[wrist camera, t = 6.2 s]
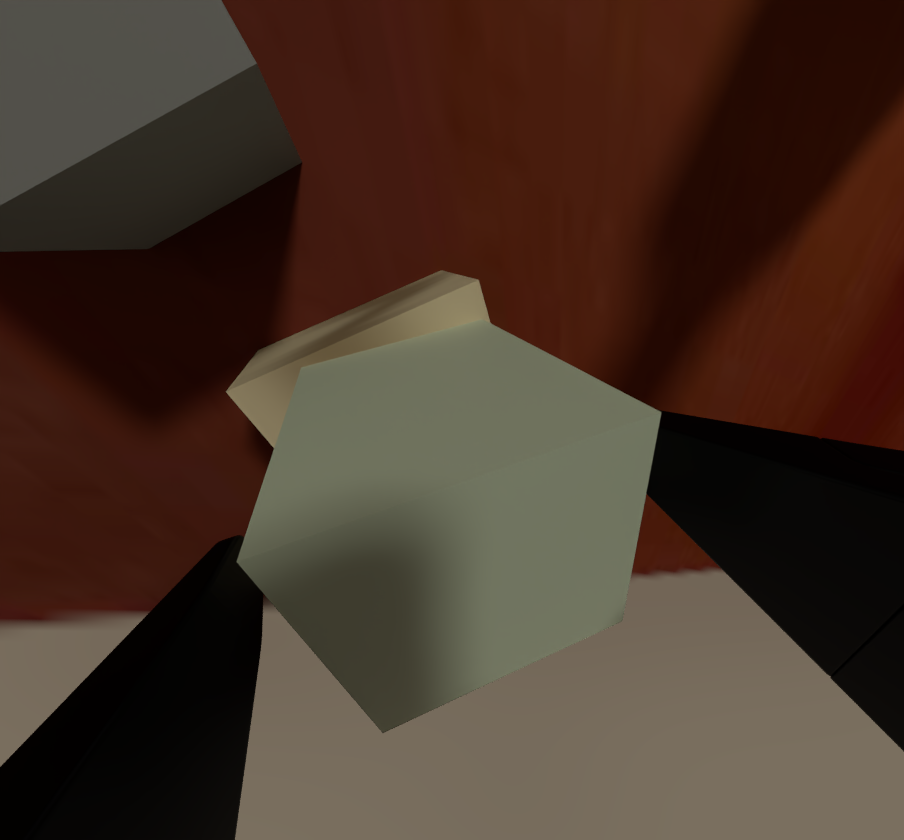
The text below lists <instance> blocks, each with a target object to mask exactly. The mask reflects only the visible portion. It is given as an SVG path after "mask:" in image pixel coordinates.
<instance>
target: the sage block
mask: <svg viewBox="0 0 904 840" xmlns="http://www.w3.org/2000/svg"><path fill="white" fill-rule="evenodd" d="M660 417H661V412H660V411H658V410H656V409H654V408H652V407H650V406H648V405H646V404H644V403H643V402H641V401H639V400H637V399H635V398H633V397H631V396H629V395H627V394H625V393H623V392H621V391H619V390H617V389H616V388H614V387H612V386H610V385H608V384H606V383H604V382H602V381H600V380H598V379H596V378H594V377H592V376H591V375H589V374H587V373H585V372H583V371H581V370H579V369H577V368H575V367H573V366H571V365H569V364H567V363H566V362H564V361H562V360H560V359H558V358H556V357H554V356H552V355H550V354H548V353H546V352H544V351H542V350H541V349H539V348H537V347H535V346H533V345H531V344H529V343H527V342H525V341H523V340H521V339H519V338H517V337H516V336H514V335H512V334H510V333H508V332H506V331H504V330H502V329H500V328H498V327H496V326H494V325H492V324H491V323H489V322H487V321H485V320H483V319H481V320H477V321H474V322H470V323H466V324H462V325H459V326H455V327H451V328H447V329H444V330H440V331H436V332H432V333H429V334H425V335H421V336H417V337H414V338H410V339H406V340H402V341H399V342H395V343H391V344H387V345H384V346H380V347H376V348H372V349H369V350H365V351H361V352H357V353H354V354H350V355H346V356H342V357H339V358H335V359H331V360H327V361H324V362H320V363H316V364H312V365H309V366H305V367H301V370H300V373H299V376H298V379H297V382H296V385H295V388H294V391H293V394H292V397H291V400H290V403H289V406H288V409H287V412H286V415H285V418H284V421H283V424H282V427H281V430H280V433H279V436H278V439H277V442H276V445H275V448H274V451H273V454H272V457H271V460H270V463H269V466H268V469H267V472H266V475H265V478H264V481H263V484H262V487H261V490H260V493H259V496H258V499H257V502H256V505H255V508H254V511H253V514H252V517H251V520H250V523H249V526H248V529H247V532H246V535H245V538H244V541H243V544H242V547H241V550H240V553H239V556H238V559H237V563H238V564H239V565H240V566H241V568H242V569H243V570H244V571H245V572H246V574H247V575H248V576H249V577H250V578H251V579H252V581H253V582H254V583H255V584H256V585H257V586H258V588H259V589H260V590H261V591H262V592H263V593H264V595H265V596H266V597H267V598H268V599H269V600H270V602H271V603H272V604H273V605H274V606H275V607H276V609H277V610H278V611H279V612H280V613H281V614H282V616H283V617H284V618H285V619H286V620H287V621H288V623H289V624H290V625H291V626H292V627H293V629H294V630H295V631H296V632H297V633H298V634H299V635H300V637H301V638H302V639H303V640H304V641H305V643H306V644H307V645H308V646H309V647H310V648H311V649H312V651H313V652H314V653H315V654H316V655H317V656H318V658H319V659H320V660H321V661H322V662H323V664H324V665H325V666H326V667H327V668H328V669H329V671H330V672H331V673H332V674H333V675H334V676H335V678H336V679H337V680H338V681H339V682H340V684H341V685H342V686H343V687H344V688H345V689H346V691H347V692H348V693H349V694H350V695H351V696H352V698H353V699H354V700H355V701H356V702H357V703H358V705H359V706H360V707H361V708H362V709H363V710H364V712H365V713H366V714H367V715H368V716H369V717H370V719H371V720H372V721H373V722H374V723H375V724H376V726H377V727H378V728H379V729H380V730H381V731H382V733H384V732H386V731H388V730H390V729H393V728H395V727H397V726H399V725H401V724H403V723H405V722H408V721H410V720H412V719H414V718H416V717H418V716H420V715H423V714H425V713H427V712H429V711H431V710H433V709H435V708H438V707H440V706H442V705H444V704H446V703H448V702H450V701H453V700H455V699H457V698H459V697H461V696H463V695H465V694H468V693H469V692H472V691H474V690H476V689H478V688H480V687H482V686H485V685H487V684H489V683H491V682H493V681H495V680H497V679H500V678H502V677H504V676H506V675H508V674H510V673H512V672H514V671H517V670H519V669H521V668H523V667H525V666H527V665H529V664H531V663H534V662H536V661H538V660H540V659H542V658H544V657H547V656H549V655H551V654H553V653H555V652H557V651H560V650H562V649H564V648H566V647H568V646H570V645H572V644H575V643H577V642H579V641H581V640H583V639H585V638H587V637H590V636H592V635H594V634H596V633H598V632H600V631H602V630H605V629H607V628H609V627H611V626H613V625H615V624H617V623H619V622H621V621H622V620H623V615H624V609H625V604H626V599H627V593H628V588H629V583H630V577H631V572H632V567H633V561H634V556H635V551H636V545H637V540H638V535H639V529H640V524H641V519H642V513H643V508H644V503H645V497H646V492H647V487H648V481H649V476H650V471H651V465H652V460H653V455H654V449H655V444H656V439H657V433H658V428H659V423H660Z"/></svg>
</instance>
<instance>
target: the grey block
mask: <svg viewBox="0 0 904 840" xmlns="http://www.w3.org/2000/svg"><path fill="white" fill-rule="evenodd" d="M300 163H302V161H301V159H300V157H299V155H298V152H297V150H296V148H295V146H294V144H293V142H292V139H291V137H290V135H289V133H288V131H287V129H286V126H285V124H284V122H283V120H282V118H281V116H280V113H279V111H278V109H277V107H276V105H275V102H274V100H273V98H272V96H271V94H270V92H269V89H268V87H267V85H266V83H265V81H264V79H263V76H262V74H261V72H260V70H259V68H258V66H257V63H256V62H255V60H254V58H253V56H252V54H251V53H250V51H249V49H248V47H247V46H246V44H245V42H244V40H243V38H242V37H241V35H240V33H239V31H238V30H237V28H236V26H235V24H234V22H233V21H232V19H231V17H230V15H229V13H228V12H227V10H226V8H225V6H224V5H223V3H222V1H221V0H0V252H9V251H64V250H120V249H149V248H151V247H153V246H155V245H156V244H158V243H160V242H162V241H164V240H165V239H167V238H169V237H171V236H172V235H174V234H176V233H178V232H179V231H181V230H183V229H185V228H187V227H188V226H190V225H192V224H194V223H195V222H197V221H199V220H201V219H203V218H204V217H206V216H208V215H210V214H211V213H213V212H215V211H217V210H218V209H220V208H222V207H224V206H226V205H227V204H229V203H231V202H233V201H234V200H236V199H238V198H240V197H241V196H243V195H245V194H247V193H249V192H250V191H252V190H254V189H256V188H257V187H259V186H261V185H263V184H265V183H266V182H268V181H270V180H272V179H273V178H275V177H277V176H279V175H280V174H282V173H284V172H286V171H288V170H289V169H291V168H293V167H295V166H296V165H298V164H300Z"/></svg>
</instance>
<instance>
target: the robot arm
mask: <svg viewBox="0 0 904 840" xmlns="http://www.w3.org/2000/svg"><path fill="white" fill-rule="evenodd" d="M658 411H660V410H658ZM660 412H661V417H660V423H659V428H658V433H657V439H656V444H655V449H654V455H653V460H652V465H651V471H650V476H649V481H648V487H647V492H646V493H647V495H648V496H649V497H650V498H651V499H652V500H653V501H654V502H655V503H656V504H657V505H658V506H659V507H660V508H661V509H662V510H663V511H664V512H665V513H666V514H667V515H668V516H669V517H670V518H671V519H672V520H673V521H674V522H675V523H676V524H677V525H678V526H679V527H680V528H681V529H682V530H683V531H684V532H685V533H686V534H687V535H688V536H689V537H690V538H691V539H692V540H693V541H694V542H695V543H696V544H697V545H698V546H699V547H700V548H701V549H702V550H703V551H704V552H705V553H706V554H707V555H708V556H709V557H710V558H711V559H712V560H713V561H714V562H715V563H716V564H717V565H718V566H719V567H720V568H721V569H722V570H723V571H724V572H725V573H726V574H727V575H728V576H729V577H730V578H731V579H732V580H733V581H734V582H735V583H736V584H737V585H738V586H739V587H740V588H741V589H742V590H743V591H744V592H745V593H746V594H747V595H748V596H749V597H750V598H751V599H752V600H753V601H754V602H755V603H756V604H757V605H758V606H759V607H761V609H762V610H763V611H764V612H765V613H766V614H767V615H769V617H771V619H772V620H774V622H776V624H777V625H778V626H780V628H781V629H782V630H783V631H784V632H786V633H787V635H788V636H789V637H791V638H792V640H793V641H794V642H796V644H797V645H798V646H799V647H801V649H802V650H803V651H805V653H806V654H807V655H808V656H809V657H810V658H811V659H812V660H813V661H814V662H815V663H816V664H818V666H819V667H820V668H821V669H823V671H824V672H825V673H826V674H828V675H829V676H831V679H832V680H833V681H834V682H835V683H836V684H837V685H838V686H839V687H840V688H841V689H842V690H843V691H844V692H845V693H846V694H847V695H848V696H849V697H850V698H851V699H852V700H853V701H854V702H855V703H856V704H857V705H858V706H859V707H860V708H861V709H862V710H863V711H864V712H865V713H866V714H867V715H868V716H869V717H870V718H871V719H872V720H873V721H874V722H875V723H876V724H877V725H878V726H879V727H880V728H881V729H882V730H883V731H884V732H885V733H886V734H887V735H888V736H889V737H890V738H891V739H892V740H893V741H894V742H895V743H896V744H897V745H898V746H899V747H900V748H901V749H902V750H903V751H904V451H901V450H894V449H888V448H882V447H875V446H869V445H863V444H856V443H850V442H844V441H838V440H833V439H827V438H821V439H819V438H818V437H814V436H808V435H802V434H796V433H791V432H785V431H779V430H773V429H767V428H761V427H755V426H749V425H743V424H737V423H731V422H725V421H719V420H713V419H708V418H702V417H696V416H690V415H684V414H678V413H672V412H666V411H660ZM243 541H244V537H243V536H240V535H237V536H234V537H231V538H228V539H225V540H222V541H220V542H218V543H216V544H215V545H214V546H213V547H212V548H211V550H210V551H209V552H208V553H207V554H206V555H205V556H204V557H203V558H202V559H201V560H200V561H199V562H198V563H197V564H196V565H195V566H194V567H193V568H192V569H191V570H190V571H189V572H188V573H187V574H186V575H185V576H184V577H183V578H182V580H181V581H180V582H179V583H178V584H177V585H176V586H175V587H174V588H173V589H172V590H171V591H170V592H169V593H168V594H167V595H166V596H165V597H164V598H163V599H162V600H161V601H160V602H159V603H158V604H157V605H156V606H155V607H154V608H153V610H152V611H151V612H150V613H149V614H148V615H147V616H146V617H145V618H144V619H143V620H142V621H141V622H140V623H139V624H138V625H137V626H136V627H135V628H134V629H133V630H132V631H131V632H130V633H129V635H127V636H126V637H125V639H124V640H123V641H122V642H121V643H120V644H119V645H118V646H117V647H116V648H115V649H114V650H113V651H112V652H111V653H110V654H109V655H108V656H107V657H106V658H105V659H104V660H103V661H102V662H101V663H100V664H99V665H98V666H97V668H95V670H94V671H93V672H92V673H91V674H90V675H89V676H88V677H87V678H86V679H85V680H84V681H83V682H82V683H81V684H80V685H79V686H78V687H77V688H76V689H75V690H74V691H73V692H72V693H71V694H70V695H69V696H68V697H67V699H66V700H65V701H64V702H63V703H62V704H61V705H60V706H59V707H58V708H57V709H56V710H55V711H54V712H53V713H52V714H51V715H50V716H49V717H48V718H47V719H46V720H45V721H44V722H43V723H42V725H40V726H39V727H38V729H37V730H36V731H35V732H34V733H33V734H32V735H31V736H30V737H29V738H28V739H27V740H26V741H25V742H24V743H23V744H22V745H21V746H20V747H19V748H18V749H17V750H16V751H15V752H14V753H13V754H12V755H11V756H10V757H9V759H8V760H7V761H6V762H5V763H4V764H3V765H2V766H1V767H0V840H235V834H236V827H237V820H238V812H239V806H240V798H241V791H242V784H243V783H242V782H243V776H244V769H245V762H246V754H247V747H248V739H249V731H250V725H251V718H252V710H253V702H254V695H255V688H256V681H257V673H258V666H259V659H260V651H261V641H262V619H263V618H262V617H263V592H262V591H261V590H260V589H259V588H258V586H257V585H256V584H255V583H254V582H253V581H252V579H251V578H250V577H249V576H248V575H247V574H246V572H245V571H244V570H243V569H242V568H241V566H240V565H239V564H238V563H237V559H238V556H239V553H240V550H241V547H242V544H243Z"/></svg>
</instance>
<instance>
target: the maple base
mask: <svg viewBox="0 0 904 840" xmlns="http://www.w3.org/2000/svg"><path fill="white" fill-rule="evenodd" d="M481 319H483V320H485V321H487V322H489V323H490V320H489V316H488V313H487V309H486V305H485V302H484V298H483V295H482V291H481V287H480V284H479V280H477V279H473V278H469V277H465V276H461V275H457V274H453V273H450V272H446V271H442V270H441V271H439V272H436V273H434V274H432V275H430V276H427V277H425V278H423V279H420V280H418V281H416V282H414V283H411V284H409V285H407V286H404V287H402V288H400V289H397V290H395V291H393V292H391V293H388V294H386V295H384V296H381V297H379V298H377V299H375V300H372V301H370V302H368V303H365V304H363V305H361V306H358V307H356V308H354V309H352V310H349V311H347V312H345V313H342V314H340V315H338V316H336V317H333V318H331V319H329V320H326V321H324V322H322V323H320V324H317V325H315V326H313V327H310V328H308V329H306V330H303V331H301V332H299V333H297V334H294V335H292V336H290V337H287V338H285V339H283V340H281V341H278V342H276V343H274V344H271V345H269V346H267V347H264V348H262V349H260V350H258V351H257V353H256V354H255V355H254V356H253V358H252V359H251V360H250V362H249V363H248V364H247V365H246V367H245V368H244V369H243V370H242V372H241V373H240V374H239V376H238V377H237V378H236V379H235V381H234V382H233V383H232V384H231V386H230V387H229V388H228V390H227V391H226V393H227V394H228V395H229V396H230V397H231V398H232V400H233V401H234V402H235V403H236V404H237V405H238V407H239V408H240V409H241V410H242V411H243V412H244V414H245V415H246V416H247V417H248V418H249V420H250V421H251V422H252V423H253V424H254V425H255V427H256V428H257V429H258V430H259V431H260V432H261V434H262V435H263V436H264V437H265V438H266V439H267V441H268V442H269V443H270V444H271V445H272V447H273V448H275V445H276V442H277V439H278V436H279V433H280V430H281V427H282V424H283V421H284V418H285V415H286V412H287V409H288V406H289V403H290V400H291V397H292V394H293V391H294V388H295V385H296V382H297V379H298V376H299V373H300V370H301V367H305V366H309V365H312V364H316V363H320V362H324V361H327V360H331V359H335V358H339V357H342V356H346V355H350V354H354V353H357V352H361V351H365V350H369V349H372V348H376V347H380V346H384V345H387V344H391V343H395V342H399V341H402V340H406V339H410V338H414V337H417V336H421V335H425V334H429V333H432V332H436V331H440V330H444V329H447V328H451V327H455V326H459V325H462V324H466V323H470V322H474V321H477V320H481Z"/></svg>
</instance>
